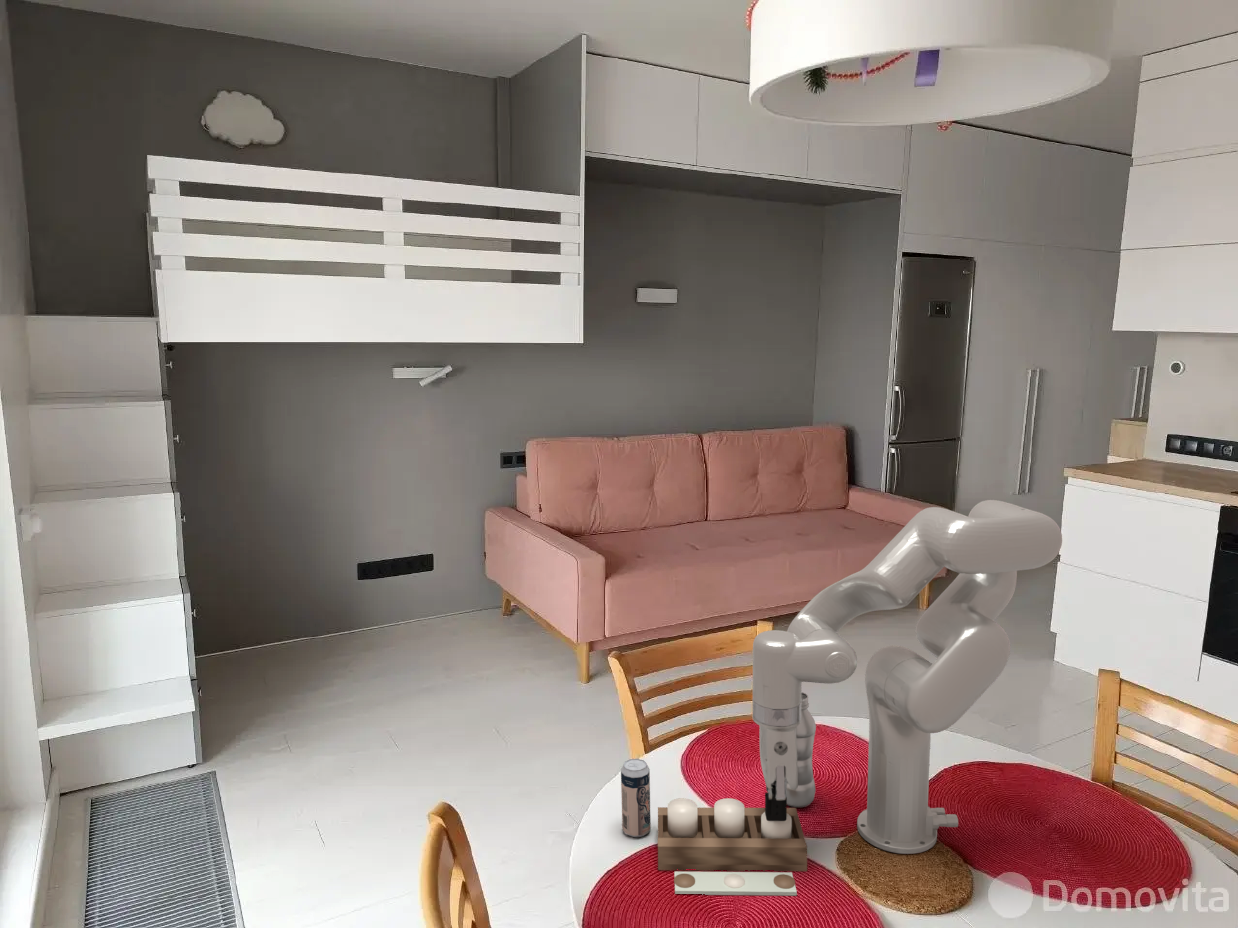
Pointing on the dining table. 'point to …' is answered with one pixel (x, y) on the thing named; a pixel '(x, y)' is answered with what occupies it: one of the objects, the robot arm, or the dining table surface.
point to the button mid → (729, 818)
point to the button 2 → (776, 828)
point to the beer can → (635, 797)
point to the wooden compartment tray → (731, 846)
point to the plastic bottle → (803, 759)
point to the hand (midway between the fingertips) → (775, 817)
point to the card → (735, 883)
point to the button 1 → (682, 818)
